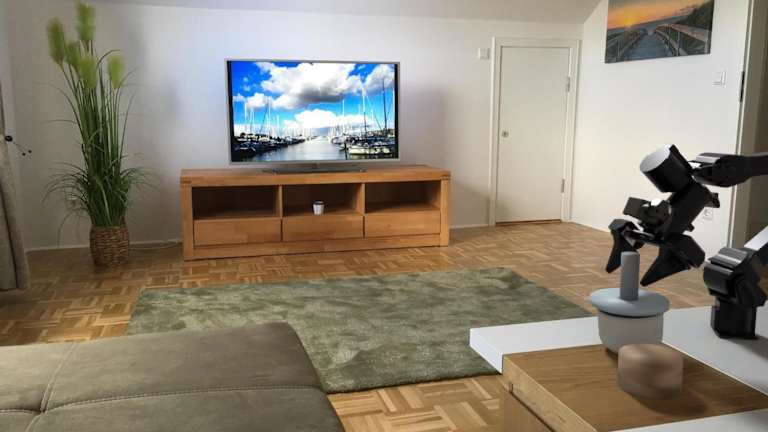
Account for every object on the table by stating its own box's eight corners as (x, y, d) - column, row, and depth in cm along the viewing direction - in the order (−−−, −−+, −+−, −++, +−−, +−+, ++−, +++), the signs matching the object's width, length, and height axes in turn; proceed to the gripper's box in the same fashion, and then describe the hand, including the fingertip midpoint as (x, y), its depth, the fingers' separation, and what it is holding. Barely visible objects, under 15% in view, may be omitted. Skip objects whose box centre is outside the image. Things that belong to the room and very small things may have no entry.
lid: (677, 300, 112) (680, 250, 111) (658, 321, 102) (661, 266, 101) (603, 289, 120) (604, 242, 118) (578, 307, 110) (580, 256, 108)
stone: (674, 375, 100) (675, 345, 99) (687, 401, 92) (689, 368, 91) (614, 371, 102) (615, 342, 101) (621, 396, 94) (623, 364, 93)
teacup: (668, 364, 105) (671, 317, 103) (599, 360, 107) (601, 315, 106) (651, 334, 118) (653, 293, 117) (590, 332, 120) (591, 291, 119)
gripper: (618, 175, 118) (565, 238, 116) (695, 186, 100) (633, 261, 99) (652, 213, 121) (600, 276, 120) (731, 231, 104) (672, 304, 102)
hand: (623, 278), depth 110 cm, fingers open, 9 cm apart
